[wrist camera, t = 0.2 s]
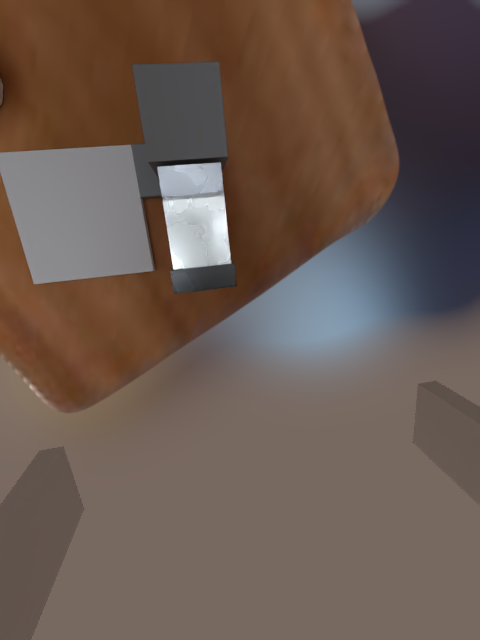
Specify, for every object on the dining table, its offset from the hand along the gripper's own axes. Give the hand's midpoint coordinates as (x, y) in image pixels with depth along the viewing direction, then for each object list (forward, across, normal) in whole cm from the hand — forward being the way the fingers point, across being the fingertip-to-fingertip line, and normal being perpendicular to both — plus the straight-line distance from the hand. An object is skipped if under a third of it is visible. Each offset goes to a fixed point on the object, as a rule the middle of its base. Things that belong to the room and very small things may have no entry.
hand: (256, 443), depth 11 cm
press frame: (+28, -9, +11) cm, 31 cm away
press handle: (+17, -1, +8) cm, 18 cm away
